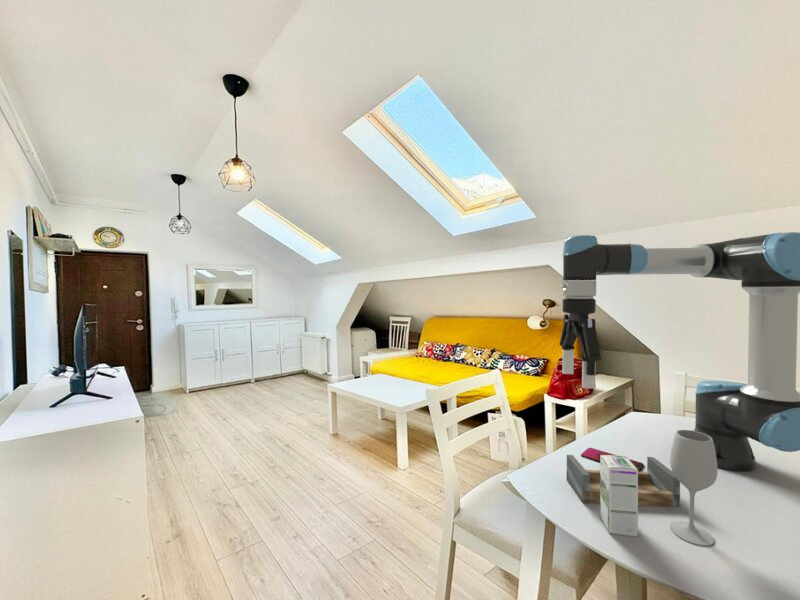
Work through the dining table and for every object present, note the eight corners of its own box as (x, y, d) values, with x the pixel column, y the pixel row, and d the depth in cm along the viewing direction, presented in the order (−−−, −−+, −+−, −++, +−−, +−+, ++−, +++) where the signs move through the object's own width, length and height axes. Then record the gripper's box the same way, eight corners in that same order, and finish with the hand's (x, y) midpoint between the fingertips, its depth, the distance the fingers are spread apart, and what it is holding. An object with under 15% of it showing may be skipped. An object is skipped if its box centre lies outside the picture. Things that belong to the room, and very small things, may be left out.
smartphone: (589, 446, 114) (644, 463, 103) (589, 449, 114) (644, 466, 103) (579, 454, 109) (637, 473, 98) (579, 457, 109) (637, 476, 98)
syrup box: (638, 537, 74) (640, 469, 73) (607, 533, 75) (608, 466, 74) (627, 519, 79) (628, 455, 79) (598, 516, 81) (599, 453, 80)
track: (652, 483, 94) (653, 457, 94) (679, 506, 84) (680, 477, 84) (566, 480, 96) (566, 454, 95) (582, 503, 86) (583, 474, 85)
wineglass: (659, 522, 78) (661, 428, 77) (691, 520, 79) (694, 427, 78) (690, 548, 71) (693, 444, 70) (725, 545, 71) (729, 442, 71)
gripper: (548, 295, 103) (547, 368, 104) (583, 299, 78) (581, 394, 79) (575, 295, 102) (574, 369, 103) (619, 299, 78) (617, 395, 79)
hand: (577, 380), depth 91 cm, fingers open, 13 cm apart
